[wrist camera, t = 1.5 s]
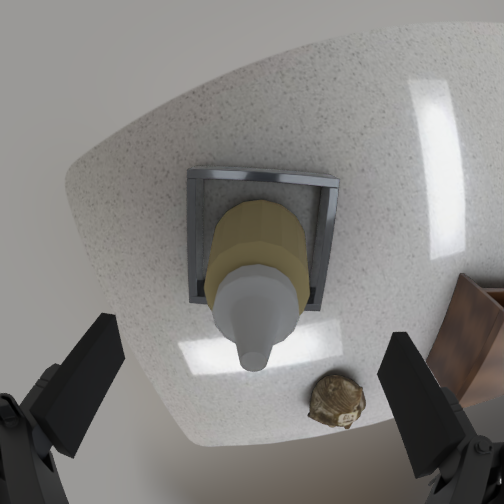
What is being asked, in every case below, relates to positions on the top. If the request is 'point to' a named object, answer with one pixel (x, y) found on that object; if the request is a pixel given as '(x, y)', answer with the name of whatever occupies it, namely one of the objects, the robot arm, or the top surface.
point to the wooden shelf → (471, 344)
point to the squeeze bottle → (257, 278)
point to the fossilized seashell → (337, 401)
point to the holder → (266, 175)
